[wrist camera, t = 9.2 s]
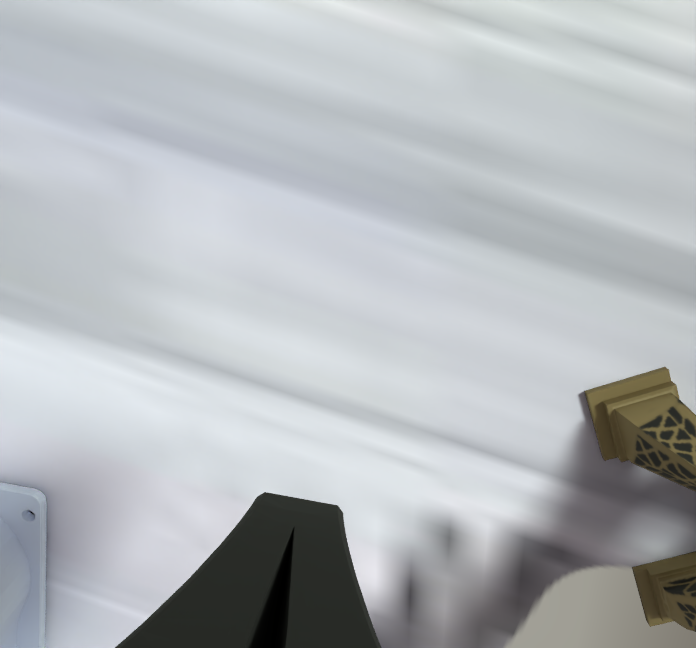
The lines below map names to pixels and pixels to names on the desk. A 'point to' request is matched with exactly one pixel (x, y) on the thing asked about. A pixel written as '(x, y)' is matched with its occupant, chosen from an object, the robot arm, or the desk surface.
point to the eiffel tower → (658, 457)
